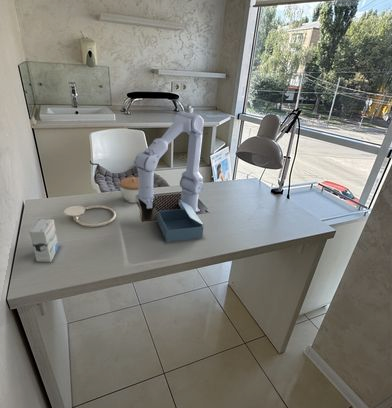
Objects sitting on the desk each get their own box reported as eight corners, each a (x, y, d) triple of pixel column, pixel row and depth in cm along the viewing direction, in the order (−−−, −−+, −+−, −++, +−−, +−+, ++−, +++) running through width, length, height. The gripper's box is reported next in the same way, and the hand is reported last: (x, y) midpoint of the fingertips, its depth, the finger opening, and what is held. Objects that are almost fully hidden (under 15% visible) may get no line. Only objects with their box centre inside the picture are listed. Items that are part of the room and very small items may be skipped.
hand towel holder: (120, 214, 120) (66, 222, 111) (120, 223, 122) (67, 232, 114) (110, 196, 133) (61, 202, 124) (111, 205, 135) (63, 211, 126)
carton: (157, 222, 126) (157, 211, 123) (190, 218, 130) (191, 208, 128) (166, 242, 113) (166, 230, 110) (202, 238, 118) (203, 226, 115)
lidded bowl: (151, 197, 146) (151, 176, 140) (139, 207, 135) (138, 185, 130) (129, 191, 149) (128, 171, 143) (115, 201, 138) (113, 180, 133)
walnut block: (139, 216, 119) (139, 202, 116) (150, 215, 121) (150, 201, 118) (141, 222, 116) (141, 207, 113) (152, 220, 117) (152, 206, 114)
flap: (178, 199, 123) (178, 198, 123) (190, 207, 127) (191, 206, 127) (189, 217, 111) (190, 217, 111) (203, 225, 115) (203, 225, 115)
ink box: (44, 246, 105) (38, 218, 99) (59, 247, 105) (54, 218, 99) (35, 261, 97) (28, 232, 91) (51, 262, 98) (44, 232, 92)
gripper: (132, 178, 115) (133, 208, 122) (138, 193, 104) (139, 226, 111) (150, 177, 118) (150, 206, 125) (158, 192, 106) (157, 224, 113)
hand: (146, 215), depth 118 cm, fingers closed on walnut block, 4 cm apart
